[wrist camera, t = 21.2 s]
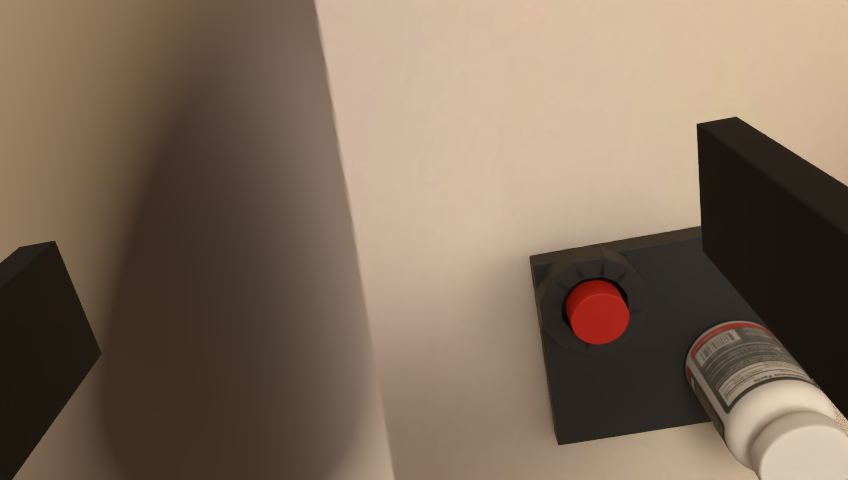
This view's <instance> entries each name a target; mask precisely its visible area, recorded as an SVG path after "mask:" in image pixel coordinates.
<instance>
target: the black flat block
mask: <svg viewBox="0 0 848 480" xmlns="http://www.w3.org/2000/svg"><path fill="white" fill-rule="evenodd" d="M530 264H531V270H532V277H533V284H534V291H535V298H536V305H537V312H538V319H539V325H540V332H541V339H542V346H543V353H544V360H545V367H546V374H547V381H548V387H549V394H550V401H551V408H552V415H553V422H554V429H555V434H556V438H557V441H558V445H564V444H571V443H577V442H584V441H590V440H596V439H603V438H609V437H615V436H622V435H628V434H634V433H641V432H647V431H653V430H660V429H666V428H672V427H679V426H685V425H691V424H698V423H704V422H711V419H710V417H709V416H708V414H707V412H706V411H705V409H704V407H703V406H702V404H701V402H700V401H699V399H698V397H697V396H696V394H695V393H694V391H693V389H692V387H691V386H690V384H689V381H688V379H687V376H686V359H687V355H688V353H689V350H690V348H691V347H692V345H693V344H694V342H695V341H696V340H697V339H698V338H699V337H700V336H701V335H702V334H703V333H704V332H705V331H707V330H709V329H710V328H712V327H714V326H716V325H719V324H721V323H725V322H730V321H748V322H752V323H755V324H758V325H760V326H762V327H764V328H765V329H767V330H768V331H769V332H771V333H772V331H771V330H770V329H769V328H768V327H767V326H766V324H765V323H764V322H763V321H762V320H761V319H760V317H759V316H758V315H757V314H756V313H755V312H754V310H753V309H752V308H751V307H750V306H749V305H748V303H747V302H746V301H745V300H744V299H743V298H742V296H741V295H740V294H739V293H738V292H737V291H736V289H735V288H734V287H733V286H732V285H731V284H730V282H729V281H728V280H727V279H726V278H725V277H724V275H723V274H722V273H721V272H720V271H719V270H718V268H717V267H716V266H715V265H714V264H713V263H712V261H711V260H710V259H709V258H708V257H707V256H706V254H705V253H704V252H703V251H702V229H701V226H699V227H693V228H688V229H682V230H676V231H670V232H665V233H659V234H653V235H647V236H642V237H636V238H630V239H624V240H618V241H613V242H607V243H601V244H595V245H590V246H584V247H578V248H572V249H567V250H561V251H555V252H549V253H544V254H538V255H532V256H530ZM591 280H602V281H606V282H608V283H610V284H612V285H613V286H615V287H616V288H617V290H618V291H619V293H620V295H621V296H622V298H623V300H624V302H625V304H626V306H627V308H628V311H629V322H628V325H627V327H626V329H625V331H624V332H623V333H622V334H621V335H620V336H619V337H618V338H617V339H615V340H613V341H611V342H608V343H605V344H590V343H587V342H585V341H583V340H581V339H580V338H578V337H577V336H576V334H575V333H574V331H573V329H572V326H571V324H570V321H569V319H568V316H567V313H566V301H567V298H568V296H569V295H570V293H571V292H572V290H573V289H574V288H576V287H577V286H578V285H580V284H582V283H584V282H587V281H591ZM772 334H773V333H772ZM773 335H774V334H773ZM774 336H775V335H774ZM775 337H776V336H775ZM776 339H777V340H778V338H777V337H776ZM778 341H779V340H778ZM779 342H780V341H779ZM780 343H781V342H780ZM781 344H782V343H781ZM782 346H783V347H784V345H783V344H782ZM784 348H785V347H784ZM785 349H786V348H785ZM786 350H787V349H786ZM787 351H788V350H787ZM788 352H789V351H788ZM789 354H790V352H789ZM790 355H791V354H790ZM791 356H792V355H791ZM792 357H793V356H792ZM793 358H794V357H793ZM794 359H795V358H794ZM795 361H796V359H795ZM796 362H797V361H796ZM797 363H798V362H797ZM798 364H799V363H798ZM799 365H800V364H799ZM800 366H801V365H800ZM801 367H802V366H801ZM802 369H803V368H802ZM803 370H804V369H803ZM804 371H805V370H804ZM805 372H806V371H805ZM806 373H807V372H806ZM807 374H808V373H807ZM809 377H810V376H809ZM810 378H811V377H810ZM811 379H812V378H811Z"/></svg>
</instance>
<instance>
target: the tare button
mask: <svg viewBox="0 0 848 480" xmlns="http://www.w3.org/2000/svg"><path fill="white" fill-rule="evenodd" d="M566 313H567V316H568V319H569V321H570V324H571V326H572V329H573V331H574V333H575V334H576V336H577V337H578V338H580V339H581V340H583V341H585V342H587V343H590V344H605V343H608V342H611V341H613V340H615V339H617V338H618V337H619V336H620V335H621V334H622V333H623V332H624V331H625V329H626V327H627V325H628V322H629V311H628V308H627V306H626V304H625V302H624V300H623V298H622V296H621V295H620V293H619V291H618V290H617V288H616V287H615V286H613V285H612V284H610V283H608V282H606V281H602V280H591V281H587V282H584V283H582V284H580V285H578V286H577V287H576V288H574V289H573V290H572V292H571V293H570V295H569V296H568V298H567V301H566Z"/></svg>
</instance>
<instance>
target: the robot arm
mask: <svg viewBox="0 0 848 480" xmlns="http://www.w3.org/2000/svg"><path fill="white" fill-rule="evenodd" d="M697 142H698V164H699V185H700V207H701V229H702V251H703V252H704V253H705V254H706V256H707V257H708V258H709V259H710V260H711V261H712V263H713V264H714V265H715V266H716V267H717V268H718V270H719V271H720V272H721V273H722V274H723V275H724V277H725V278H726V279H727V280H728V281H729V282H730V284H731V285H732V286H733V287H734V288H735V289H736V291H737V292H738V293H739V294H740V295H741V296H742V298H743V299H744V300H745V301H746V302H747V303H748V305H749V306H750V307H751V308H752V309H753V310H754V312H755V313H756V314H757V315H758V316H759V317H760V319H761V320H762V321H763V322H764V323H765V324H766V326H767V327H768V328H769V329H770V330H771V331H772V333H773V334H774V335H775V336H776V337H777V338H778V340H779V341H780V342H781V343H782V344H783V345H784V347H785V348H786V349H787V350H788V351H789V352H790V354H791V355H792V356H793V357H794V358H795V359H796V361H797V362H798V363H799V364H800V365H801V366H802V368H803V369H804V370H805V371H806V372H807V373H808V375H809V376H810V377H811V378H812V379H813V380H814V382H815V383H816V384H817V385H818V386H819V387H820V389H821V390H822V391H823V392H824V393H825V394H826V396H827V397H828V398H829V399H830V400H831V401H832V403H833V404H834V405H835V406H836V407H837V408H838V410H839V411H840V412H841V413H842V414H843V415H844V417H845V418H846V419H847V420H848V186H846V185H844V184H843V183H841V182H840V181H838V180H836V179H835V178H833V177H832V176H830V175H828V174H827V173H825V172H824V171H822V170H820V169H819V168H817V167H816V166H814V165H812V164H811V163H809V162H808V161H806V160H804V159H803V158H801V157H800V156H798V155H797V154H795V153H793V152H792V151H790V150H789V149H787V148H785V147H784V146H782V145H781V144H779V143H777V142H776V141H774V140H773V139H771V138H769V137H768V136H766V135H765V134H763V133H761V132H760V131H758V130H757V129H755V128H753V127H752V126H750V125H749V124H747V123H746V122H744V121H742V120H741V119H739V118H738V117H732V118H727V119H721V120H716V121H710V122H705V123H699V124H697ZM100 356H101V351H100V349H99V346H98V344H97V341H96V339H95V337H94V334H93V332H92V329H91V327H90V324H89V322H88V320H87V318H86V315H85V313H84V310H83V308H82V305H81V303H80V300H79V298H78V295H77V293H76V291H75V288H74V286H73V284H72V281H71V278H70V276H69V274H68V271H67V269H66V267H65V264H64V262H63V259H62V257H61V254H60V252H59V249H58V247H57V245H56V242H55V241H51V242H45V243H40V244H34V245H29V246H23V247H19V248H18V249H17V250H16V251H14V252H13V253H12V254H11V255H10V256H8V257H7V258H6V259H5V260H4V261H2V262H1V263H0V480H12V479H13V478H14V476H15V475H16V473H17V472H18V470H19V469H20V468H21V466H22V465H23V464H24V462H25V461H26V459H27V458H28V457H29V455H30V454H31V452H32V451H33V450H34V448H35V447H36V445H37V444H38V442H39V441H40V440H41V438H42V437H43V436H44V434H45V433H46V431H47V430H48V428H49V427H50V426H51V424H52V423H53V422H54V420H55V419H56V417H57V416H58V415H59V413H60V412H61V410H62V409H63V408H64V406H65V405H66V403H67V402H68V400H69V399H70V398H71V396H72V395H73V393H74V392H75V391H76V389H77V388H78V386H79V385H80V383H81V382H82V380H83V379H84V378H85V377H86V375H87V374H88V372H89V371H90V370H91V368H92V367H93V365H94V364H95V362H96V361H97V360H98V358H99V357H100Z"/></svg>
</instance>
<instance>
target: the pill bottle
mask: <svg viewBox="0 0 848 480" xmlns="http://www.w3.org/2000/svg"><path fill="white" fill-rule="evenodd" d="M686 376H687V379H688V381H689V384H690V386H691V387H692V389H693V391H694V393H695V394H696V396H697V397H698V399H699V401H700V402H701V404H702V406H703V407H704V409H705V411H706V412H707V414H708V416H709V417H710V419H711V421H712V422H713V424H714V426H715V427H716V429H717V431H718V432H719V434H720V436H721V437H722V439H723V441H724V442H725V444H726V446H727V447H728V449H729V450H730V452H731V453H732V455H733V456H734V457H735V458H736V459H737V460H738V461H739V462H740V463H741V464H742V465H744V466H745V467H747V468H748V469H750V470H753V471H754V472H755V473H756V475H757V477H758V478H759V480H846V479H847V478H848V436H847V434H846V433H845V432H844V430H843V429H842V427H841V426H840V425H839V424H838V423H837V422H836V414H835V411H834V408H833V406H832V404H831V402H830V400H829V399H828V398H827V396H826V395H825V394H824V392H823V391H822V390H821V389H820V388H819V387H818V386H817V384H816V383H815V382H814V381H813V380H812V379H811V378H810V377H809V375H808V374H807V373H806V372H805V371H804V370H803V369H802V367H801V366H800V365H799V364H798V363H797V362H796V361H795V359H794V358H793V357H792V356H791V355H790V354H789V352H788V351H787V350H786V349H785V348H784V347H783V346H782V344H781V343H780V342H779V341H778V340H777V339H776V337H775V336H774V335H773V334H772V333H771V332H769V331H768V330H767V329H765V328H764V327H762V326H760V325H758V324H755V323H752V322H748V321H730V322H725V323H721V324H719V325H716V326H714V327H712V328H710V329H709V330H707V331H705V332H704V333H703V334H702V335H701V336H700V337H699V338H698V339H697V340H696V341H695V342H694V344H693V345H692V347H691V348H690V350H689V353H688V355H687V359H686Z"/></svg>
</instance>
